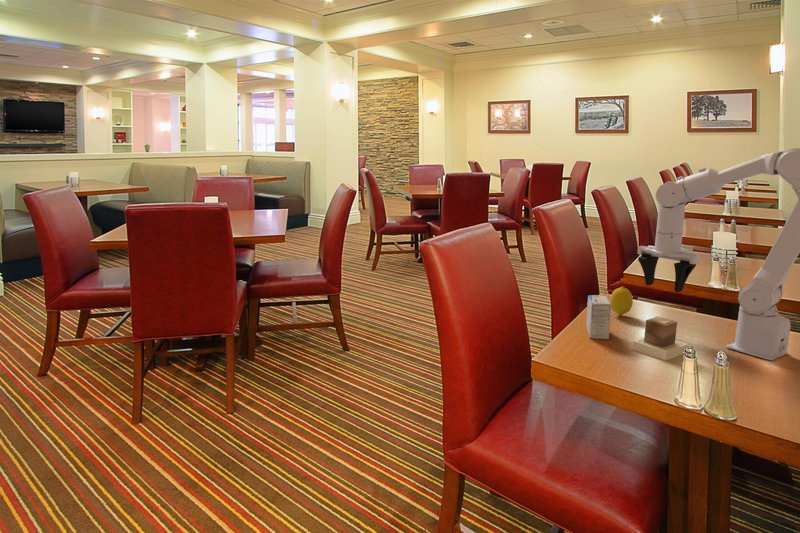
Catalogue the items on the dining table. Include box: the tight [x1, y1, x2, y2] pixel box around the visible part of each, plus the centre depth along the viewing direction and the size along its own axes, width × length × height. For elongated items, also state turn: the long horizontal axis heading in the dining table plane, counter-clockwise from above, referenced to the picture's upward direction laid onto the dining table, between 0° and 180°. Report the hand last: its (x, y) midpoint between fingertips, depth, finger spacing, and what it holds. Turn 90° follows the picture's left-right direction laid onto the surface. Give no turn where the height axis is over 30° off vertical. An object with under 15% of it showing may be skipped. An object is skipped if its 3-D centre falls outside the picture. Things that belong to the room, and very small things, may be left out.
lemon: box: [609, 286, 634, 317], centre depth 150 cm, size 6×6×8 cm
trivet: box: [631, 337, 689, 361], centre depth 126 cm, size 8×8×3 cm
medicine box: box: [585, 294, 612, 340], centre depth 136 cm, size 8×4×9 cm, turn 168°
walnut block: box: [643, 316, 678, 348], centre depth 125 cm, size 4×4×5 cm
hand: (663, 287), depth 138 cm, fingers open, 7 cm apart
